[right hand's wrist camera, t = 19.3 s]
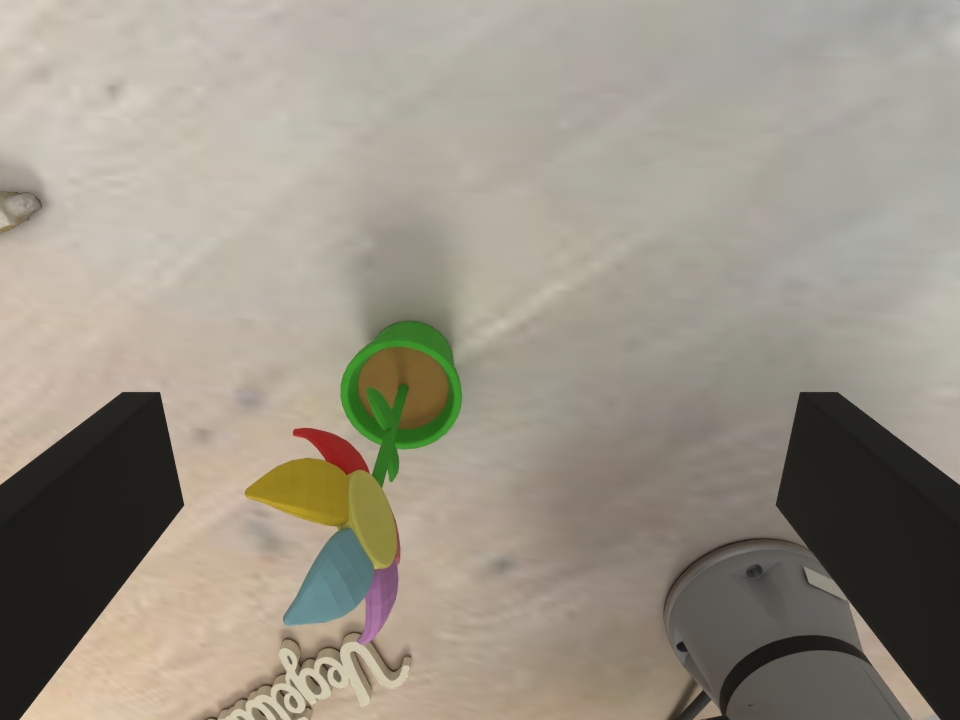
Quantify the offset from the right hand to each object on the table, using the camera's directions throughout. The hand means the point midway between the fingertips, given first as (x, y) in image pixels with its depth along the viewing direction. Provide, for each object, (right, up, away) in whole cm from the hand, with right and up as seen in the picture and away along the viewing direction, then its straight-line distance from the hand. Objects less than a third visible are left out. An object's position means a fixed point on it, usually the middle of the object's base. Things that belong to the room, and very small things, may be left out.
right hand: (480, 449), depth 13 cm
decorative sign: (-19, -30, +45) cm, 58 cm away
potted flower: (-5, +2, +33) cm, 33 cm away
